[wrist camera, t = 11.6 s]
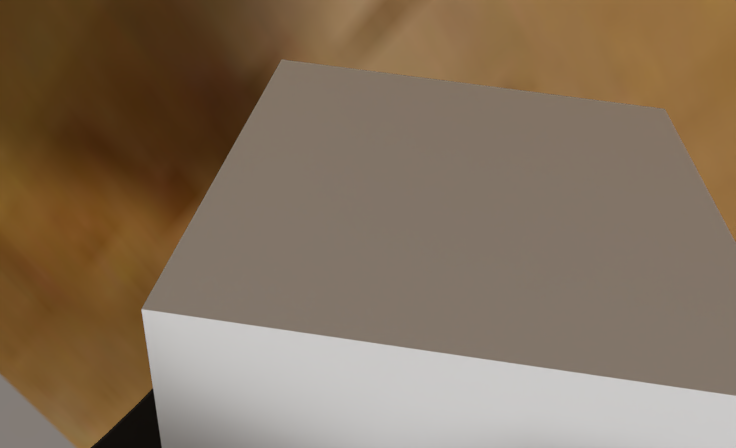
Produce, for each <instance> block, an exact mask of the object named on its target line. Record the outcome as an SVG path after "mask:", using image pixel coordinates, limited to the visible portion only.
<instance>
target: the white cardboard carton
mask: <svg viewBox="0 0 736 448" xmlns="http://www.w3.org/2000/svg"><path fill="white" fill-rule="evenodd" d="M141 310H142V316H143V323H144V330H145V337H146V344H147V350H148V357H149V364H150V371H151V378H152V384H153V391H154V398H155V405H156V412H157V418H158V425H159V432H160V439H161V446H162V448H736V242H735V241H734V239H733V237H732V235H731V233H730V231H729V229H728V227H727V225H726V224H725V222H724V220H723V218H722V216H721V214H720V212H719V210H718V208H717V207H716V205H715V203H714V201H713V199H712V197H711V195H710V193H709V192H708V190H707V188H706V186H705V184H704V182H703V180H702V178H701V176H700V175H699V173H698V171H697V169H696V167H695V165H694V163H693V161H692V159H691V158H690V156H689V154H688V152H687V150H686V148H685V146H684V144H683V142H682V141H681V139H680V137H679V135H678V133H677V131H676V129H675V127H674V126H673V124H672V122H671V120H670V118H669V116H668V114H667V112H666V110H665V109H661V108H654V107H646V106H638V105H630V104H623V103H615V102H607V101H599V100H592V99H584V98H576V97H568V96H561V95H553V94H545V93H537V92H530V91H522V90H514V89H506V88H499V87H491V86H483V85H475V84H468V83H460V82H452V81H445V80H437V79H429V78H421V77H414V76H406V75H398V74H390V73H383V72H375V71H367V70H359V69H352V68H344V67H336V66H328V65H321V64H313V63H305V62H297V61H290V60H281V61H280V63H279V65H278V67H277V69H276V70H275V72H274V74H273V76H272V77H271V79H270V81H269V83H268V85H267V86H266V88H265V90H264V92H263V93H262V95H261V97H260V99H259V101H258V102H257V104H256V106H255V108H254V109H253V111H252V113H251V115H250V117H249V118H248V120H247V122H246V124H245V126H244V127H243V129H242V131H241V133H240V134H239V136H238V138H237V140H236V142H235V143H234V145H233V147H232V149H231V150H230V152H229V154H228V156H227V158H226V159H225V161H224V163H223V165H222V166H221V168H220V170H219V172H218V174H217V175H216V177H215V179H214V181H213V183H212V184H211V186H210V188H209V190H208V191H207V193H206V195H205V197H204V199H203V200H202V202H201V204H200V206H199V207H198V209H197V211H196V213H195V215H194V216H193V218H192V220H191V222H190V223H189V225H188V227H187V229H186V231H185V232H184V234H183V236H182V238H181V240H180V241H179V243H178V245H177V247H176V248H175V250H174V252H173V254H172V256H171V257H170V259H169V261H168V263H167V264H166V266H165V268H164V270H163V272H162V273H161V275H160V277H159V279H158V280H157V282H156V284H155V286H154V288H153V289H152V291H151V293H150V295H149V297H148V298H147V300H146V302H145V304H144V305H143V307H142V309H141Z"/></svg>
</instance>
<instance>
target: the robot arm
mask: <svg viewBox="0 0 736 448" xmlns="http://www.w3.org/2000/svg"><path fill="white" fill-rule="evenodd" d="M91 448H162V446H161V439H160V432H159V425H158V418H157V412H156V405H155V398H154V391H153V389H152V390H151V391H150V392H149V393H148V394H147V395H146V396H145V397H144V398H143V399H142V400H141V401H140V402H139V403H138V404H137V405H136V406H135V407H134V408H133V409H132V410H131V411H130V412H129V413H128V414H127V415H126V416H125V417H124V418H122V419H121V420H120V421H119V422H118V423H117V424H116V425H115V426H114V427H113V428H112V429H111V430H110V431H109V432H108V433H107V434H106V435H105V436H104V437H102V438H101V439H100V440H99V441H98V442H97V443H96V444H95V445H93V446H92V447H91Z"/></svg>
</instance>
